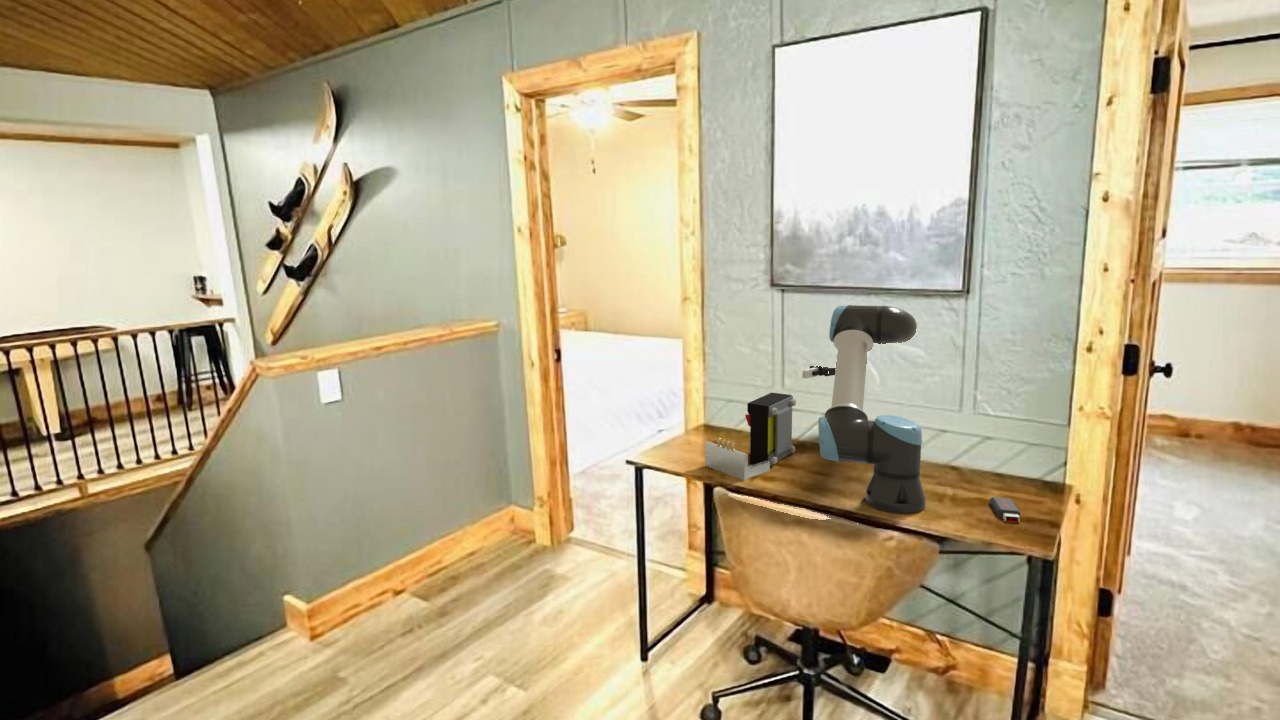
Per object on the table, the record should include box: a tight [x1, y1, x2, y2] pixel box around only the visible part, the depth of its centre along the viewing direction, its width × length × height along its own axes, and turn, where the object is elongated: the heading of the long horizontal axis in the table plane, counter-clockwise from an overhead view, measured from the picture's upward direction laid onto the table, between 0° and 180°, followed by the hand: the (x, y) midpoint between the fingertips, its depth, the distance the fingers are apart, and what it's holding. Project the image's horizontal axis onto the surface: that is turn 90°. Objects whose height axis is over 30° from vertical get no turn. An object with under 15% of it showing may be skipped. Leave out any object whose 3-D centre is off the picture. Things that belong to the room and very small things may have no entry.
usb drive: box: [989, 496, 1021, 524], centre depth 169 cm, size 5×12×3 cm, turn 164°
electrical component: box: [744, 392, 797, 467], centre depth 214 cm, size 18×10×20 cm, turn 143°
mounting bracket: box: [704, 437, 771, 481], centre depth 205 cm, size 17×12×10 cm
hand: (804, 374), depth 221 cm, fingers closed
